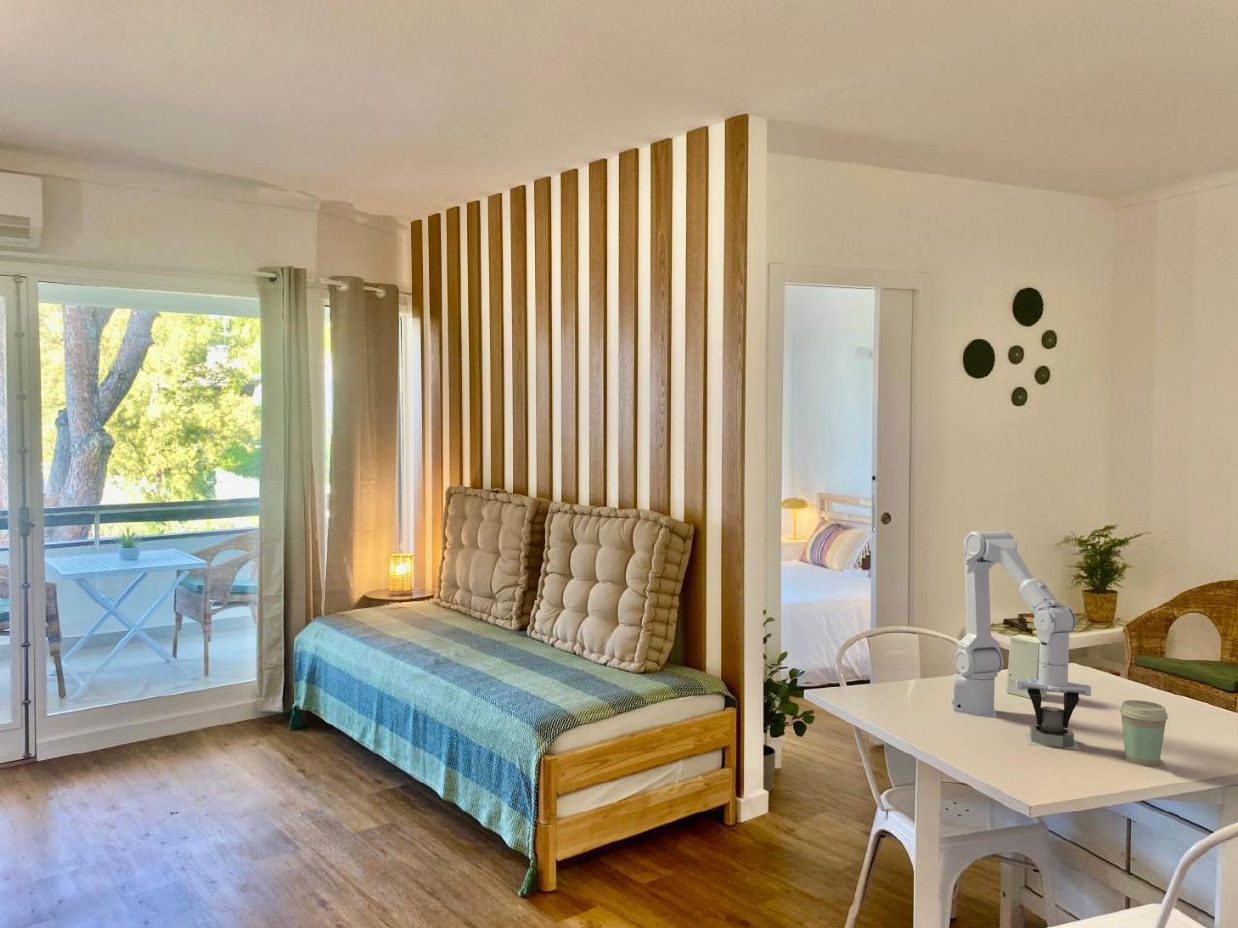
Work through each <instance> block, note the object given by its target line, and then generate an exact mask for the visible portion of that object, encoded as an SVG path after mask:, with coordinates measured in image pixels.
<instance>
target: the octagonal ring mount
mask: <svg viewBox="0 0 1238 928" xmlns="http://www.w3.org/2000/svg"><path fill="white" fill-rule="evenodd" d="M1029 725H1030V724H1029ZM1029 734H1030V738H1031V741H1032V742H1035V743H1038V744H1041V745H1043V746H1042V747H1048V746H1049V747H1050V748H1057V747H1058V748H1059V749H1066V748H1065V747H1070V746H1074V739H1075V733H1074V732H1073V729H1071V728H1069V727H1068V728H1064V734H1061V735H1059V734H1050V733H1045V732H1042V731H1040V725H1037V723H1036V724H1031V725H1030V727H1029Z"/></svg>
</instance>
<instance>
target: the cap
mask: <svg viewBox="0 0 1238 928" xmlns="http://www.w3.org/2000/svg"><path fill="white" fill-rule="evenodd" d="M1040 731H1042V732H1045V733H1050V734H1059V735H1061V734H1064V708H1063V709H1062V708H1060V707H1055V706H1049V705H1047V706H1041V726H1040Z"/></svg>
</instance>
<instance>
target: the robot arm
mask: <svg viewBox="0 0 1238 928" xmlns="http://www.w3.org/2000/svg"><path fill="white" fill-rule="evenodd" d="M1014 538H1015V537H1014V536H1013V535H1012V533H1011V532H1009V531H1008V530H1004V529H1003V530H993V531H992V530H991V531H989V530H988V531H987V530H986V531H982V530H981V531H979V530H973V531H970V532H969V533H968V534H967V535H966V537H965V538H964V539H963V561H964V587H965V590H964V591H965V612H966V613H965V614H966V615H965V616H966V617H965V618H966V635H965V636H964V637H962V638H961V639H960V640H959V641H958V642H957V643H956V644H957V645H956V647H957V648H956V649H957V650H956V653H955V655H954V663H955V667H956V669H957V671H958V672H959V673H956V674H955V673H954V674H953V689H952V693H953V695H952V696H951V705H952V708H953V713H956V714H965V715H973V716H982V717H983V716H985V717H992V718H993V717H994V718H997V713H996V709H995V685H996V684H995V683H996V682H995V680H996V679H995V678H997V677H998V674H999V673H1001V671H1002V670H1003V666H1004V658H1003V654H1002V652H1001V647H1000V645H1001V644H1000V642H998V640H997V639H995V638H994V637H993V636H992V631H991V630H992V628H991V626H992V625H991V603H990V601H991V599H990V598H991V597H990V594H991V593H990V573H989V571H990V569H991V568H992V567H994V565H995V564H997V563H999V564H1000V565H1001V566H1002V567H1003V568H1004V569H1005V571H1006V572H1007V573H1008V574H1009V576H1011V577H1012V579H1013V580H1014V581H1015V582H1016V584H1017V585H1018V586H1019V590H1018V594H1019V596H1020V597H1021V599H1022V601H1024V603H1025V604H1026V606H1027V607H1028V609H1029V611H1030V612H1031V614H1032V615H1033V617H1034V618H1033V625H1034V627H1035V629H1036V632H1037V635H1036V638H1038V640H1039V641H1040V647H1039V679H1016V689H1017V690H1022V689H1024V690H1027V691H1028V694H1029V696H1030V698H1029V699H1030V700H1031V704H1032V707H1033V710H1034V713H1035V719H1036V724H1037V725H1040V726H1041V707H1042V699H1043V698H1042V697H1041V692H1040V691H1046V692H1048V693H1060V694H1063V710H1064V728H1069V722H1070V719H1071V716H1072V714H1073V712H1074V710H1075V708H1076V706H1077V705H1078V703H1079V701H1080V697H1079V696H1081V695H1082V696H1085V697H1091V696H1092V687H1091V686H1090V684H1089V685H1088V684H1080V683H1075V682H1069V655H1070V653H1069V652H1070V650H1069V649H1070V648H1069V647H1070V633H1072V632H1073V631H1075V628H1076V626H1077V625H1076V624H1077V619H1076V615H1075V613H1074V612H1073V609H1072V608H1071V607H1069V606H1067V605H1064V604H1062V603H1061V602H1059V601H1058V600H1057V599H1056V597H1055V596H1054V594H1053V593H1052V591H1051V590H1050V589H1049V588H1048V585H1047V584H1046V582H1045V581H1043V580H1041V579H1040V578H1039V579H1038V578H1037V579H1036V578H1034V576H1033V574H1032V573H1031V571H1030V570H1029V567H1028V566H1027V565H1026V563H1025V562H1024V560H1023V559H1022V557H1021V555H1020V554H1019V552H1018V542H1017V540H1016V539H1014Z"/></svg>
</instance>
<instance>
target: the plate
mask: <svg viewBox="0 0 1238 928" xmlns="http://www.w3.org/2000/svg"><path fill="white" fill-rule="evenodd" d="M1024 736H1025V739H1026V742H1027V745H1031V746H1041V747H1044V746H1043V745H1041V744H1038V743H1035V742H1032V741H1031V738H1030V732H1029V733H1028V732H1027V733H1025V732H1024ZM1047 747H1049V746H1047ZM1056 748H1058V747H1056ZM1064 749H1067V750H1075V751H1076V750H1079V751H1080V750H1081V749H1080V747H1079V745H1078V743H1077V741H1076V739H1075V738H1074V746H1070V747H1065V748H1064Z"/></svg>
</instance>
